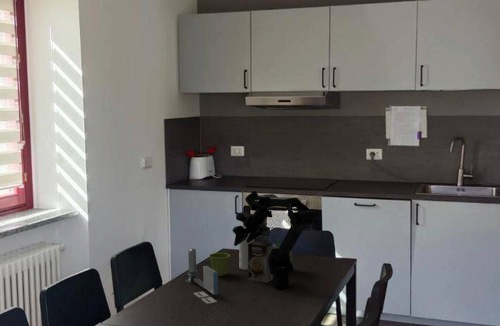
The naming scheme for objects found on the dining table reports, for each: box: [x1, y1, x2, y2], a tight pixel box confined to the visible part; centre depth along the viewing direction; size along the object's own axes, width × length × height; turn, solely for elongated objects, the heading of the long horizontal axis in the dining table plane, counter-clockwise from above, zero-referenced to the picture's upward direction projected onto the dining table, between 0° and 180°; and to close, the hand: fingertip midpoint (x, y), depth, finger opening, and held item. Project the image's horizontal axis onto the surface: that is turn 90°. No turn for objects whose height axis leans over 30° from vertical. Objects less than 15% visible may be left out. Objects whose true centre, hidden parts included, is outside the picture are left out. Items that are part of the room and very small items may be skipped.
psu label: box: [193, 291, 210, 299], centre depth 249 cm, size 6×4×1 cm, turn 27°
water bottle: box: [238, 222, 255, 271], centre depth 285 cm, size 7×7×25 cm
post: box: [185, 248, 199, 285], centre depth 267 cm, size 5×5×14 cm
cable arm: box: [194, 265, 219, 296], centre depth 255 cm, size 22×2×9 cm, turn 27°
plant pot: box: [208, 252, 231, 277], centre depth 277 cm, size 9×9×9 cm
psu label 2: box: [200, 296, 218, 305], centre depth 242 cm, size 6×4×1 cm, turn 27°
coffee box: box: [247, 240, 274, 284], centre depth 268 cm, size 9×6×16 cm
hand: (240, 243), depth 275 cm, fingers open, 9 cm apart
